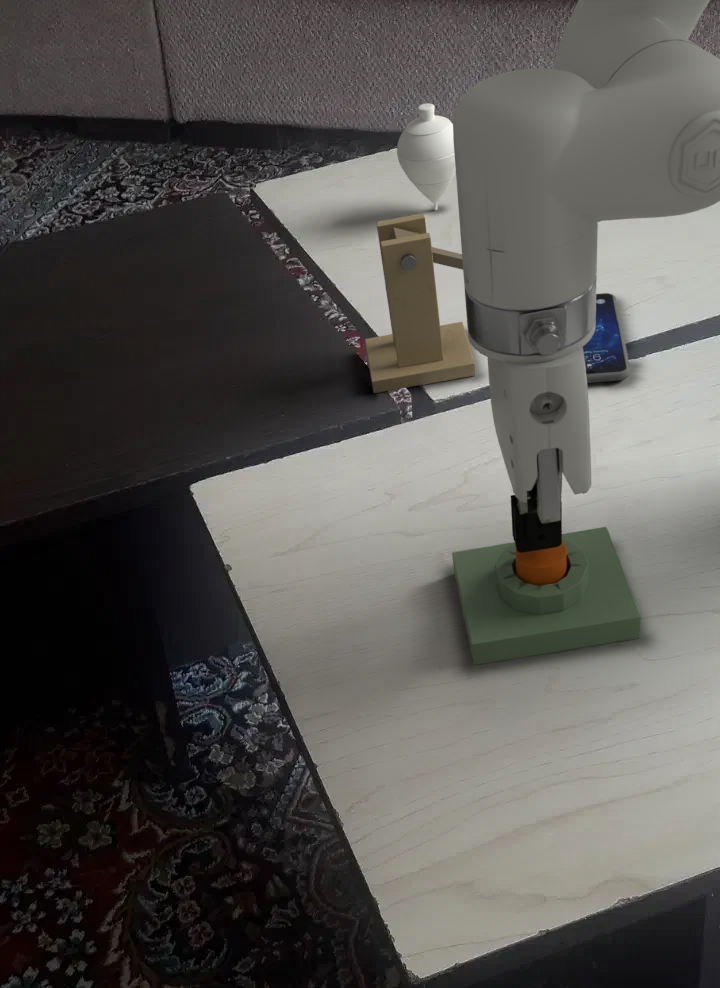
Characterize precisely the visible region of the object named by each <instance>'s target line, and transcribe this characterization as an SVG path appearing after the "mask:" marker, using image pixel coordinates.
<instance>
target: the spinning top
mask: <svg viewBox="0 0 720 988" xmlns="http://www.w3.org/2000/svg"><path fill="white" fill-rule="evenodd" d="M416 108H417V109H416V110H417V114H418V117H417V118H415V119H412V120H410V121H409V123H407V124H406V125H405V128H404V130H403V131H402V133H401V134H400V135H399V138H398V140H397V146H396V155H397V160H398V163H399V165H400V167H401V169H402V170H403V172H404V173H405V175H406V176H407V178H408V179H409V181H410V182H411V183H412V184H413V186H415V188H416V189H417V190H418V191H419V192H420V193H421V194H422V195H423V196H424V197H425V198H426V199H427V200H428V201H429V202H431V203H433V209H434V210H435V211H437V210H438V202H439V201H440V200H442V197H443V196H444V194H445V193H446V191H447V190H448V188H449V186H450V184H451V183H452V181H453V180H454V178H455V176H456V167H455V154H454V141H453V122H451V120H450V119H449V118H447V117H445V116H442V115H437V114H435V105H434V104H433V103H428V102H427V103H422V104H420V105H419V106H418V107H416Z"/></svg>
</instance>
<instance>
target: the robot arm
mask: <svg viewBox="0 0 720 988" xmlns="http://www.w3.org/2000/svg"><path fill="white" fill-rule="evenodd" d="M710 1H711V0H578V1H577V2H576V4H575V6H574V9H573V11H572V13H571V16H570V18H569V20H568V22H567V24H566V27H565V29H564V32H563V34H562V36H561V40H560V42H559V44H558V47H557V50H556V54H555V57H554V61H553V65H552V68H549V67H531V68H523V69H521V68H520V69H514V70H510V71H506V72H502V73H498V74H496V75H493V76H490V77H487V78H485V79H483V80H481V81H479V82H477V83H475V84H474V85H472V86H470V88H469V89H468V90H467V91H466V92H465V93H464V94H463V95H462V97H461V99H460V100H459V101H458V103H457V105H456V108H455V111H454V114H453V121H452V124H453V141H454V154H455V167H456V174H455V179H456V192H457V206H458V219H459V232H460V234H459V235H460V246H461V254H462V260H463V270H462V272H463V284H464V286H463V287H464V300H465V313H466V324H467V325H466V326H467V339H468V342H469V344H470V345H471V346H472V347H473V349H474V350H476V351H477V352H478V353H479V354H481V355H483V356H485V357H487V372H488V385H489V399H490V406H491V413H492V419H493V424H494V429H495V434H496V438H497V441H498V445H499V448H500V452H501V455H502V458H503V463H504V465H505V469H506V472H507V475H508V479H509V481H510V485H511V488H512V493H513V494H512V495H510V510H511V511H510V512H511V529H512V538H513V542H515V545H516V549H517V551H518V552H520V553H523V552H530V551H536V550H542V549H548V548H555V547H558V546H560V545H561V544H562V534H563V515H562V514H563V507H562V506H563V504H562V503H563V501H562V495H563V493H562V492H563V476H564V479H565V480H566V482H567V483H568V485H569V487H570V489H571V490H572V493H573V494H574V495H581V494H582V495H584V494H587V493H588V492H589V490H590V489H591V487H592V456H591V455H592V453H591V452H592V451H591V427H590V426H591V425H590V404H589V390H588V389H589V388H588V387H589V386H588V383H587V376H586V367H585V360H584V353H583V346H584V345H585V344H586V343H587V342H588V341H589V340H590V339H591V338H592V336H593V334H594V331H595V327H596V294H597V277H598V273H597V272H598V230H599V229H598V228H599V227H598V225H599V223H600V222H606V221H618V220H630V219H633V220H634V219H653V218H656V219H657V218H668V217H674V216H682V215H687V214H692V213H695V212H698V211H701V210H705V209H707V208H710V207H711V206H714V205H716V204H718V203H720V57H717V56H716V55H714V54H713V53H710V52H709V51H707V50H705V49H704V48H702V47H700V45H698V44H696V43H695V42H694V41H691V40H690V37H691V35H692V33H693V31H694V29H695V27H696V25H697V24H698V22H699V20H700V18H701V16H702V15H703V13H704V11H705V10H706V8H707V6H708V4H709V3H710Z"/></svg>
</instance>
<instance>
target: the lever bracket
mask: <svg viewBox="0 0 720 988" xmlns="http://www.w3.org/2000/svg"><path fill="white" fill-rule="evenodd" d="M426 222H427V221H426V216H425V213H423V212H422V213H418V214H412V215H406V216H400V217H396V218H391V219H390V218H389V219H385V220H380V221H376V229H377V237H378V244H379V250H380V257H381V264H382V271H383V277H384V285H385V291H386V292H385V293H386V298H387V299H386V300H387V306H388V307H387V308H388V314H389V320H390V327H391V328H390V329H391V334H385V335H379V336H374V337H368V338H365V339H364V344H365V350H366V356H367V362H368V369H369V374H370V381H371V387H372V392H373V394H378V393H385V392H389V391H395V390H401V389H402V390H403V389H407V388H412V387H417V386H418V387H419V386H425V385H429V384H436V383H441V382H447V381H452V380H458V379H463V378H470V377H475V376H476V375H477V373H476V362H475V360H474V356H473V353H472V349H471V346H470V345H471V344H470V341H469V338H468V334H467V333H466V329H465V325H464V322H463V321H457V322H453V323H446V324H441V322H440V321H441V320H440V314H439V313H440V312H439V304H438V303H439V302H438V296H437V295H438V294H437V286H436V285H437V284H436V274H435V268H434V267H435V265H434V264H435V263H433V255H432V247H433V246H432V240H431V239H432V237H431V234H430V232H427V223H426ZM393 228H398V229H402V230H406V231H411V232H415V233H419V235H413V236H408V237H402V238H397V239H392V240H390V237H391V233H392V230H393Z"/></svg>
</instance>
